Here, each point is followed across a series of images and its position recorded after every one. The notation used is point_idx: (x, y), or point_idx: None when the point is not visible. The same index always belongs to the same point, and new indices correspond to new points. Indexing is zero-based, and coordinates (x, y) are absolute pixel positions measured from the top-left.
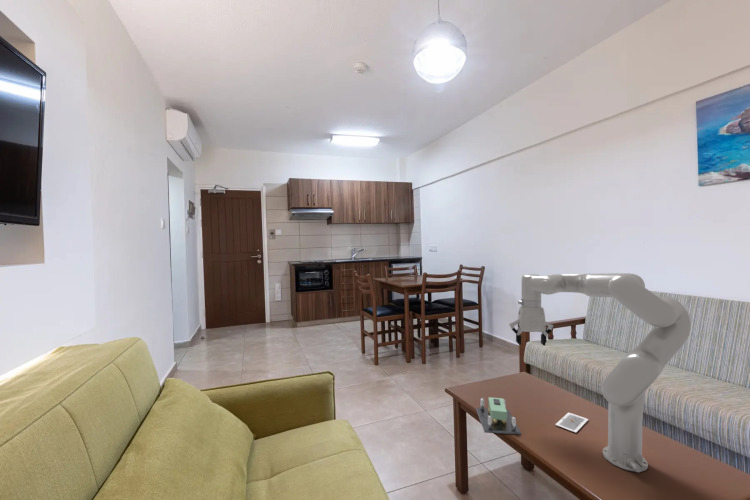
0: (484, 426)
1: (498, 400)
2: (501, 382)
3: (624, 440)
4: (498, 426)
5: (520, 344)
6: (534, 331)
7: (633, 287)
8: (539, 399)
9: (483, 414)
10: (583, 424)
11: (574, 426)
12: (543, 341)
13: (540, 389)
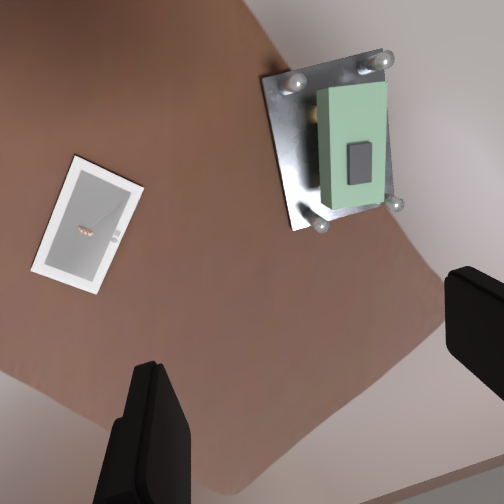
0: (380, 74)
1: (353, 173)
2: (297, 416)
3: None
4: None
5: (454, 270)
6: (407, 494)
7: None
8: (187, 352)
9: None
10: (48, 225)
11: (79, 199)
12: (155, 401)
13: None
